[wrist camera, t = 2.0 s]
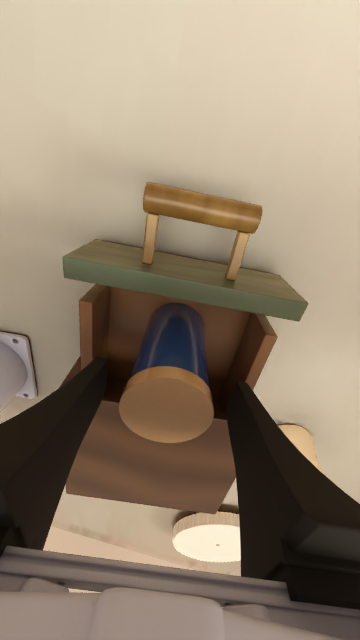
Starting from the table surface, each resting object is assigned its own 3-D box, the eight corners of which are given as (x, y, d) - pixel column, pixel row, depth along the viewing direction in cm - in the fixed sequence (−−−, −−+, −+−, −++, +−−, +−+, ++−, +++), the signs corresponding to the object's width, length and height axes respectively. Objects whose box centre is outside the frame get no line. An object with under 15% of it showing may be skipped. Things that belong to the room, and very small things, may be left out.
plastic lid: (258, 501, 34) (263, 522, 32) (261, 541, 41) (265, 561, 39) (165, 505, 36) (163, 526, 34) (182, 543, 43) (181, 563, 40)
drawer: (95, 170, 14) (56, 163, 10) (305, 214, 15) (348, 224, 11) (94, 373, 22) (72, 415, 18) (231, 396, 23) (239, 441, 19)
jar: (143, 346, 19) (116, 435, 12) (150, 296, 17) (121, 369, 10) (198, 356, 20) (201, 449, 13) (212, 307, 17) (225, 387, 10)
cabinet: (91, 338, 22) (55, 393, 16) (245, 365, 22) (264, 426, 17) (91, 431, 28) (65, 494, 22) (210, 450, 29) (215, 515, 23)
